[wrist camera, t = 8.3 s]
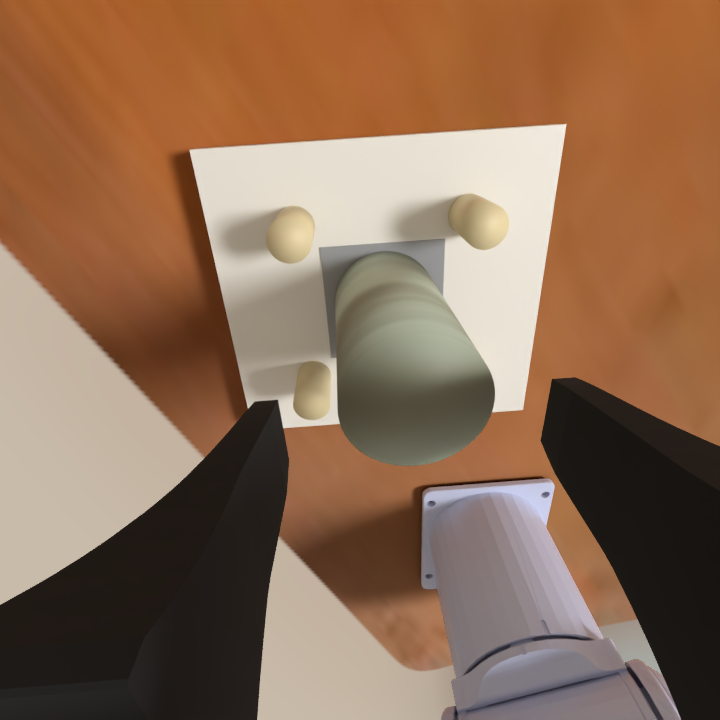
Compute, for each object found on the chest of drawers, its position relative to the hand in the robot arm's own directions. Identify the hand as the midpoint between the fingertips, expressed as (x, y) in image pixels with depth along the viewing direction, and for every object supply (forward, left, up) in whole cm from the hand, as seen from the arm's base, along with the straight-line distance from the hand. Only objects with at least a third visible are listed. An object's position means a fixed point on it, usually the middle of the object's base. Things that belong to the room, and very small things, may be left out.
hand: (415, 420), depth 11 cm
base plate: (0, 0, -10) cm, 10 cm away
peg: (0, 0, -9) cm, 9 cm away
